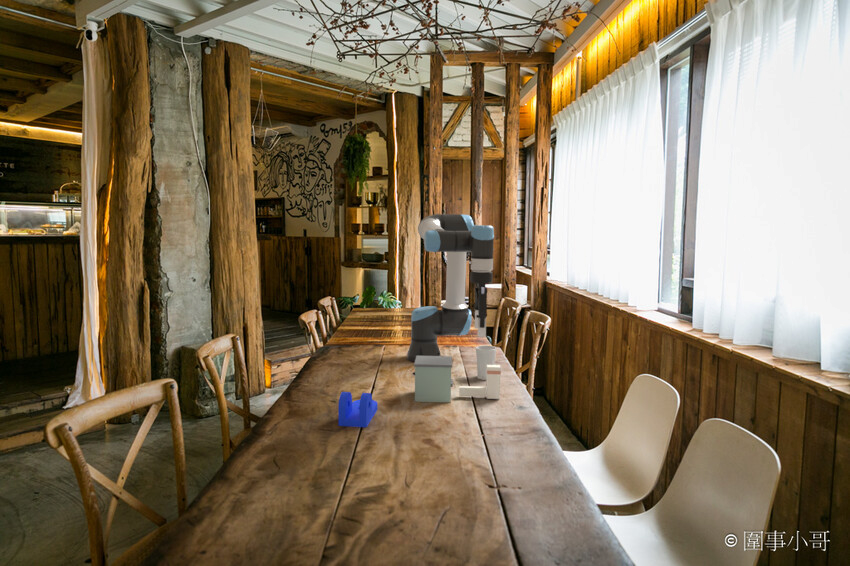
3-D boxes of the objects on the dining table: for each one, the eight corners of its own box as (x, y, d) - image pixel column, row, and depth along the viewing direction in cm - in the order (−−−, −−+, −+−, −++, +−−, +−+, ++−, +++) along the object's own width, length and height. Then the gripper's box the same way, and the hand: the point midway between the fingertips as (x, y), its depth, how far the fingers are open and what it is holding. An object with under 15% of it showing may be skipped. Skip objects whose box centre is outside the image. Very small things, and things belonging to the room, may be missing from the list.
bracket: (366, 428, 138) (366, 397, 137) (338, 426, 139) (338, 396, 138) (379, 406, 156) (380, 379, 155) (355, 404, 157) (355, 377, 156)
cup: (495, 375, 191) (495, 345, 190) (496, 381, 184) (496, 350, 182) (475, 374, 192) (475, 345, 191) (475, 380, 184) (475, 349, 183)
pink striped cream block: (499, 396, 165) (499, 365, 164) (499, 399, 162) (500, 367, 161) (459, 394, 166) (459, 363, 165) (459, 397, 163) (459, 366, 162)
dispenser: (452, 391, 170) (453, 356, 169) (452, 402, 159) (453, 365, 158) (416, 390, 171) (416, 355, 170) (413, 401, 160) (414, 364, 158)
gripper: (468, 267, 175) (467, 324, 177) (472, 274, 150) (471, 340, 152) (489, 268, 174) (487, 325, 177) (496, 274, 150) (494, 341, 152)
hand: (479, 332), depth 165 cm, fingers open, 13 cm apart
